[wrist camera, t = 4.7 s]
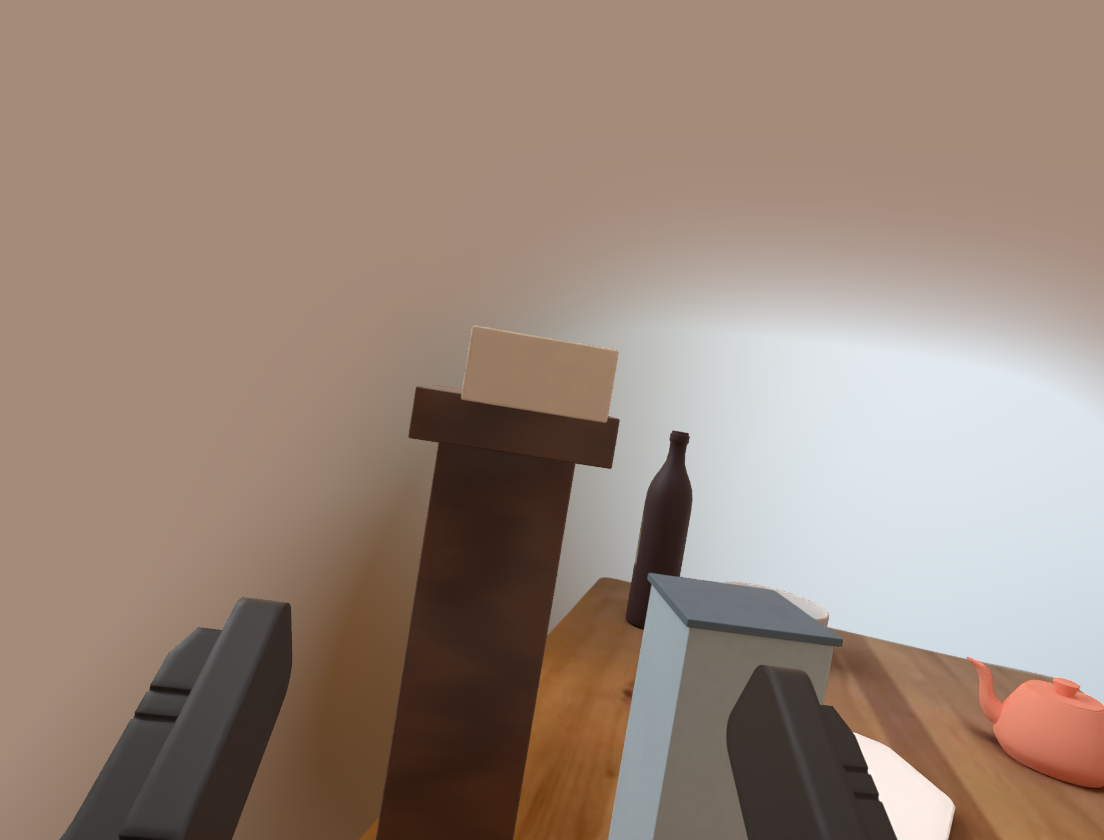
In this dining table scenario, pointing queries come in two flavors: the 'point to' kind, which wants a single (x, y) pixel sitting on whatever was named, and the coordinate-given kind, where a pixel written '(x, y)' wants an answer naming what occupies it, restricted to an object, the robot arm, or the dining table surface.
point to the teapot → (1048, 727)
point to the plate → (907, 795)
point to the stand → (480, 612)
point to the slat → (539, 374)
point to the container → (702, 702)
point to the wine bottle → (662, 528)
